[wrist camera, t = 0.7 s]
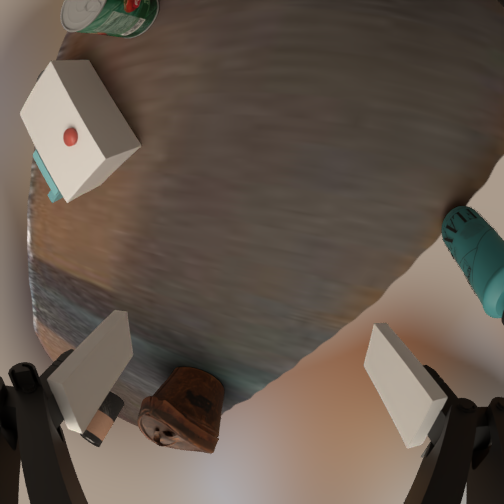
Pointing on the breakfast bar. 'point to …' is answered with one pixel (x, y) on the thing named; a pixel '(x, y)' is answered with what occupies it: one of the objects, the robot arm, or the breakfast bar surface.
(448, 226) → the beverage bottle
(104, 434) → the travel mug
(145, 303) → the breakfast bar surface
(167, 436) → the brown tapered cylinder
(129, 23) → the canned tomato
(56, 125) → the block
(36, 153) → the door
